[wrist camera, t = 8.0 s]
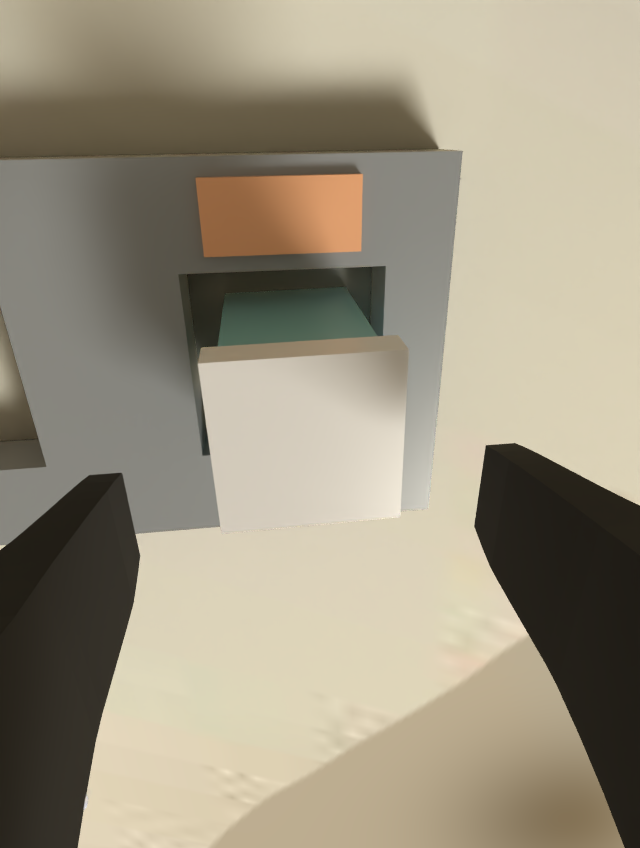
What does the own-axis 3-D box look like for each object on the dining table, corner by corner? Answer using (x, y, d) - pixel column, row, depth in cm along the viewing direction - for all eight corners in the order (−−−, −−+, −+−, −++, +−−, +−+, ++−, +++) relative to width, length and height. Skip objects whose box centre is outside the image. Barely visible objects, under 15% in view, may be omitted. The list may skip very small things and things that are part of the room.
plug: (229, 411, 20) (221, 534, 14) (214, 284, 18) (197, 363, 12) (354, 402, 20) (400, 517, 14) (354, 277, 18) (408, 349, 12)
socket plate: (-142, 523, 20) (-185, 566, 18) (-325, 164, 15) (-416, 168, 13) (414, 479, 22) (430, 513, 20) (439, 149, 17) (466, 151, 15)
